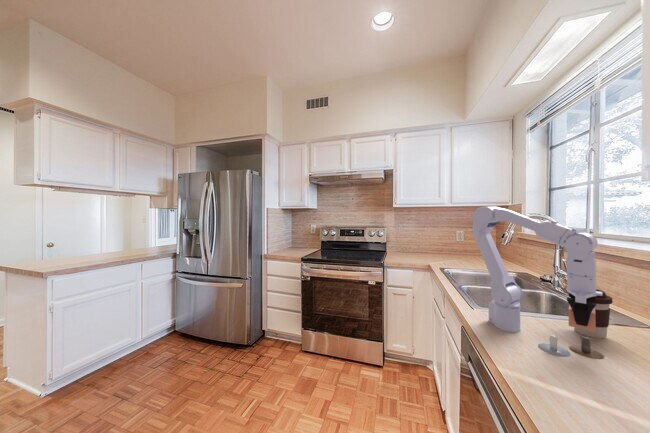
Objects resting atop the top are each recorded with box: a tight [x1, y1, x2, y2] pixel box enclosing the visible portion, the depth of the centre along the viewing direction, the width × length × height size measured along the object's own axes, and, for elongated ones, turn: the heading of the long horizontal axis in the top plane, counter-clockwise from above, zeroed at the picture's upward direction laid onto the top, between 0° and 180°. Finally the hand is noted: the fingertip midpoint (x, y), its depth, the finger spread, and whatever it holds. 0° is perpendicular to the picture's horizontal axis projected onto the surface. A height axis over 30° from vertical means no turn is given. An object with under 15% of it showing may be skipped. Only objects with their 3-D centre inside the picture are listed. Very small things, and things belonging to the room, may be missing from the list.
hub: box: [568, 335, 605, 360], centre depth 70 cm, size 7×7×5 cm
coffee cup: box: [567, 288, 613, 339], centre depth 81 cm, size 10×10×15 cm
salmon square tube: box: [568, 304, 596, 332], centre depth 70 cm, size 5×5×5 cm
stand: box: [537, 334, 571, 358], centre depth 71 cm, size 7×7×5 cm
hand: (581, 321), depth 70 cm, fingers closed on salmon square tube, 5 cm apart
